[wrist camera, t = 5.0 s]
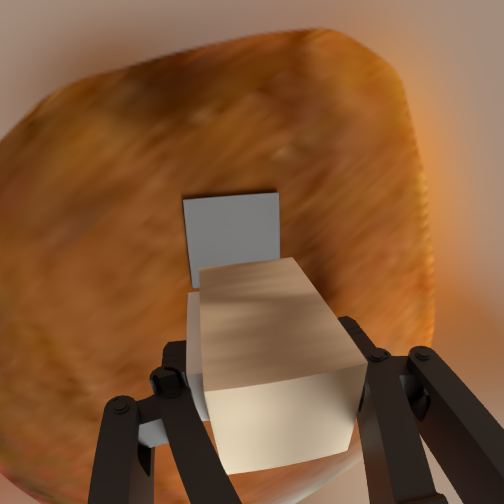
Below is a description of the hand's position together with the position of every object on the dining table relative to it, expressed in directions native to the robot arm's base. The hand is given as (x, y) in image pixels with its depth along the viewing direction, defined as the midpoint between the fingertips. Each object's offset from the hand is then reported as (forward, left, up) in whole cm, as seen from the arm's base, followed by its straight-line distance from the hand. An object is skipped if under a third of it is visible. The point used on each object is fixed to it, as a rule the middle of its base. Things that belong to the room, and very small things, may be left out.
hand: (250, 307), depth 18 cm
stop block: (0, 0, 0) cm, 0 cm away
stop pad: (+1, -1, -15) cm, 15 cm away
